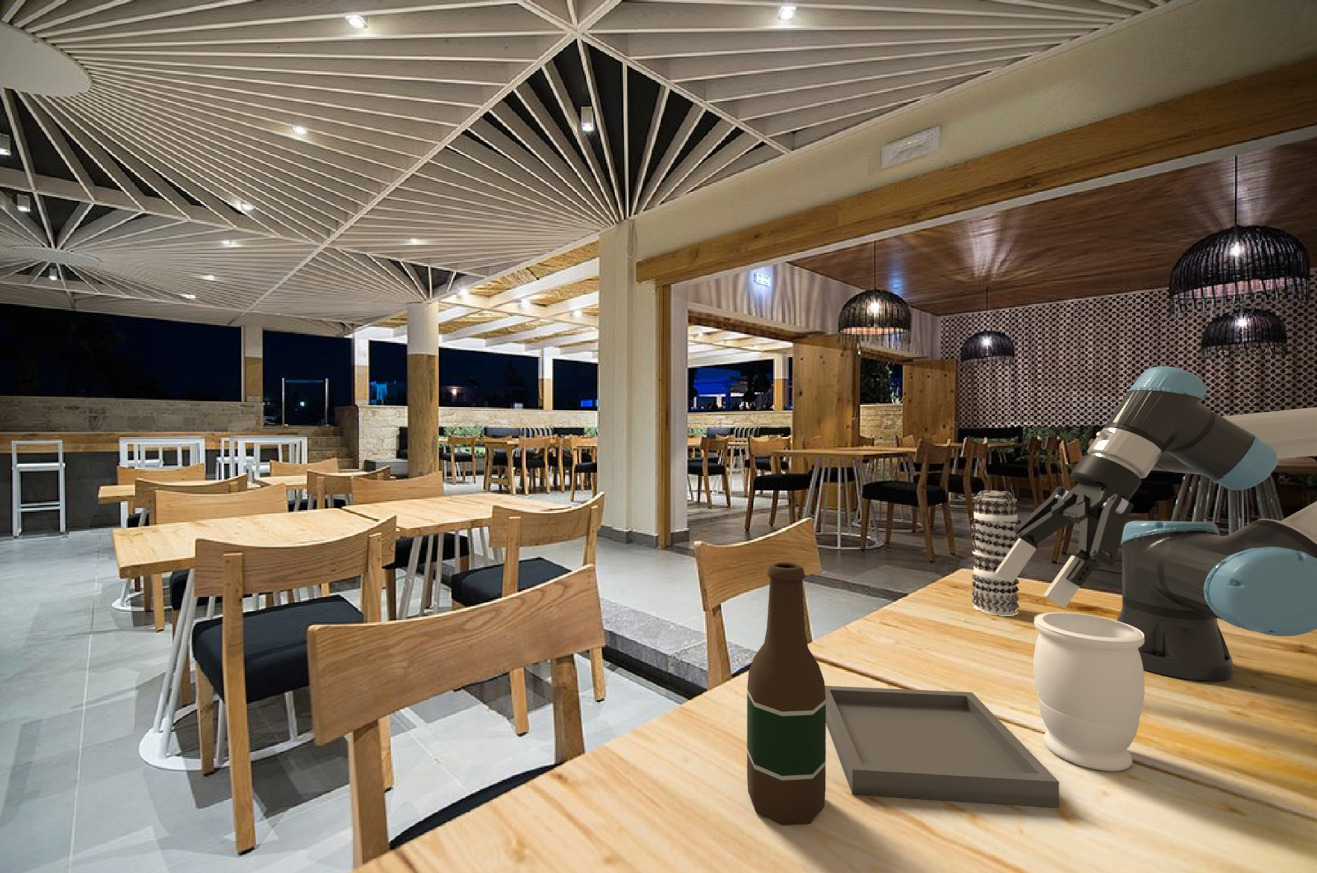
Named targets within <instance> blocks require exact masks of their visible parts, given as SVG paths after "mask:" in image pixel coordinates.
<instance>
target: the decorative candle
mask: <svg viewBox="0 0 1317 873" xmlns="http://www.w3.org/2000/svg"><path fill="white" fill-rule="evenodd" d="M973 499H974V500H975V502H974V509H975V510H974V511H973V516H972V517H970V521H971V522H973V524H971V525H970V529H971V531H972V532H971V533H970V536H971V538H973V539H974V540H973V541H972V542H971V546H972V549H971V552H972V553H971V554H973V555H974V557H975V558H974V566H973V574H972V575H971V578H972V579H973V580H974V581H972V582H971V585H972V587H973V588H974V589H972V590H971V595H972V598H971V602H972V603H973V604H972V605H975V606H973V607H974V608H975V609H976V610H981V611H982V612H985V613H990V614H996V615H1013V614H1016V613H1017V612H1018V613H1019V611H1018V610H1017V609H1018V608H1019V607H1020V606H1019V603H1018V601H1020V596H1019V595H1018V594H1017V592H1018V591H1019V590H1020V589H1019V587H1018V586H1017V585H1019V584H1020V581H1019V579H1018V578H1016V579H1015V580H1014V582H1013V583H1011V582H1009V581H1007V580H1006V579H1004V578H1003V577H1001V576H1000V575H998V574H997V573H995V571H996V570H997V568H998V567H999V566H1000V564H1001V563H1002V561H1003V560H1004V558H1005V557H1006V556H1007V554H1008V553H1009V551H1010V550H1011V549H1012V547H1013V546H1014V544H1015V543H1016V541H1017V540H1018V539H1019V538H1018V537H1017V534H1016V533H1015V532H1014V529H1015V528H1016V527H1017V526H1018V525H1019V524H1020V523H1022V521H1021V520H1020V519H1018V514H1017V501H1018V499H1016V498H1015V497H1014V496H1013V494H1012V493H1011V492H1009V491H1004V490H1003V491H1001V490H981V491H979V492H978V493H977V495H976V496H973ZM1015 610H1017V611H1015Z"/></svg>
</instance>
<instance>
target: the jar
mask: <svg viewBox="0 0 1317 873" xmlns="http://www.w3.org/2000/svg"><path fill="white" fill-rule="evenodd" d="M1033 625H1034V627H1035V629H1036V630H1037V631H1038V632H1039V633H1038V635H1037V638H1036V641H1035V647H1034V652H1033V662H1032V663H1033V667H1032V668H1033V679H1034V685H1035V686H1034V687H1035V690H1036V693H1037V703H1038V707H1039V712H1040V715H1041V718H1042V720H1043V723H1044V724H1045V727H1046V728H1047V730H1046V732H1045V733H1044V734H1043V737H1042V738H1043V739H1042V740H1043V743H1044V745H1045V747H1046V748H1047V749H1049V750H1050V752H1051V753H1053V754H1054V755H1056V756H1058V757H1060V758H1061V759H1064V760H1065V761H1067V762H1070V763H1073V764H1075V765H1077V766H1081V767H1084V768H1088V769H1091V770H1097V771H1102V772H1104V771H1106V772H1107V771H1108V772H1118V771H1124V770H1127V769H1129V768H1130V767H1131V766H1132V764H1133V757H1132V755H1131V753H1130V751H1129V750H1128V748H1129V747H1130V746H1131V745H1132V743H1133V741H1134V739H1135V738H1136V735H1137V733H1138V729H1139V725H1140V718H1141V714H1142V711H1143V707H1144V701H1145V689H1146V688H1145V685H1146V684H1145V682H1146V681H1145V674H1144V673H1145V672H1144V671H1145V670H1144V669H1143V664H1142V660H1141V656H1140V653H1139V651H1138V648H1139V647H1141V646H1142V645H1143V644H1144V634H1143V633H1142V632H1141V631H1140V630H1139V629H1137V628H1135V627H1133V626H1130V625H1128V624H1125V623H1122V622H1119V621H1117V620H1115V619H1110V618H1106V617H1102V616H1097V615H1092V614H1091V615H1090V614H1084V613H1076V612H1075V613H1074V612H1062V611H1061V612H1058V611H1057V612H1044V613H1039V614H1037V615H1034V617H1033Z"/></svg>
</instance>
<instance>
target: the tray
mask: <svg viewBox="0 0 1317 873" xmlns="http://www.w3.org/2000/svg"><path fill="white" fill-rule="evenodd" d="M825 695H826V728H827V731H828V732H829V736H830V738H831V740H832V743H833V746H834V749H835V751H836V754H837V757H838V759H839V762H840V765H841V768H842V771H843V773H844V776H845V779H846V781H847V784H848V787H849V789H850V790H849V791H850V792H851V795H853V796H871V797H886V798H898V799H899V798H900V799H901V798H903V799H917V800H932V801H949V802H963V803H964V802H966V803H981V804H994V805H995V804H996V805H997V804H998V805H1012V806H1013V805H1014V806H1026V807H1029V806H1030V807H1042V808H1043V807H1044V808H1060V781H1059V780H1058V779H1057V778H1056V777H1055V776H1054V775H1053V774H1052V773H1051V772H1050V771H1049V769H1048V768H1046V767H1045V766H1044V764H1042V763H1041V761H1040V760H1039V759H1038V758H1037V757H1036V756H1035V755H1034V754H1033V753H1032V752H1031V750H1029V749H1028V748H1027V747H1026V746H1025V745H1024V744H1023V743H1022V742H1021V741H1020V740H1019V738H1017V737H1016V736H1015V735H1014V734H1013V732H1011V730H1009V729H1008V728H1007V727H1006V725H1004V723H1003V722H1002V721H1000V719H999V718H998V717H997V716H996V715H995V714H993V712H992V711H991V710H990V709H989V708H988V707H987V706H986V705H985V704H984V703H983V702H982V701H981V700H980V699H979V698H978V697H977V696H976V695H975V694H974V693H973V692H972V691H954V690H953V691H952V690H929V689H928V690H926V689H908V688H903V689H902V688H883V687H881V688H880V687H861V686H860V687H859V686H841V685H840V686H839V685H825Z"/></svg>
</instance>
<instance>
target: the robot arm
mask: <svg viewBox="0 0 1317 873" xmlns="http://www.w3.org/2000/svg"><path fill="white" fill-rule="evenodd" d="M1207 391H1208V386H1207V385H1206V383H1205V382H1203V379H1202V378H1201V377H1199V376H1197V375H1196V374H1194V373H1192V372H1189V371H1187V370H1184V369H1181V368H1178V367H1173V366H1167V365H1166V366H1165V365H1161V366H1160V365H1159V366H1154V367H1149V368H1148V369H1146V370H1145V371H1144V372H1142V374H1141V375H1140V376H1139V377H1138V378H1137V379H1136V381H1135V382H1134V383H1133V385H1131V387H1130V388H1129V389H1127V391H1126V394H1125V396H1124V397H1123V399H1122V400H1121V401H1120V403H1119V405H1118V406H1117V408H1116V409H1115V410H1114V412H1113V413H1112V415H1111V416H1110V418H1109V419H1108V421H1107V422H1106V423H1105V425H1104V426H1103V428H1102V430H1100V431H1098V432H1097V433H1095V434H1096V438H1095V439H1094V440H1093V442H1092V443H1091V445H1090V446H1089V447H1088V449H1087V451H1086V452H1087V454H1086V455H1082V457H1081V459H1080V460H1079V461H1078V462H1077V464H1076V465H1075V467H1074V468H1073V470H1072V471H1071V473H1070V477H1071V479H1072V480H1073V481H1074V483H1075V485H1074V486H1073V487H1072V488H1071V489H1070V490H1069V491H1068V490H1067V489H1065V488H1064V487H1063V486H1058V487H1056V488H1055V490H1054V491H1053V492H1052V494H1051V495H1050V496H1049V497H1048V498H1047V499H1046V500H1045V501H1044V502H1043V503H1041V504H1040V505H1039V506H1038V507H1037V508H1036V509H1035V510H1033V512H1031V513H1030V514H1029V515H1028V516H1027V517H1026V518H1025V519H1024V520H1023V521H1021V523H1020V524H1019V525H1018V524H1017V525H1016V526H1017V527H1016V528H1015V529H1014V532H1015V533H1016V537H1018V538H1019V539H1018V540H1017V541H1016V542H1015V544H1014V546H1013V547H1012V549H1011V550H1010V551H1009V553H1008V554H1007V556H1006V557H1005V558H1004V560H1003V561H1002V563H1001V564H1000V566H999V567H998V568H997V570H996V571H995V573H997V574H998V575H1000V576H1001V577H1003V578H1004V579H1006V580H1007V581H1009V582H1011V583H1013V582H1014V580H1015V579H1018V576H1019V575H1020V573H1021V571H1022V570H1023V569H1024V568H1025V566H1026V565H1027V563H1028V562H1029V560H1030V559H1031V558H1032V557H1033V555H1034V553H1036V551H1037V550H1038V549H1039V544H1040V542H1042V541H1044V540H1045V539H1047V538H1049V537H1050V536H1052V535H1053V534H1055V533H1056V532H1057V531H1059V530H1061V529H1063V528H1064V527H1065V526H1073V525H1075V524H1076V525H1077V524H1078V525H1079V536H1078V549H1076V550H1075V551H1073V552H1072V554H1073V555H1072V554H1071V555H1070V557H1069V559H1068V560H1067V561H1066V563H1065V564H1064V565H1063V567H1062V569H1061V570H1060V571H1059V573H1057V575H1056V576H1055V578H1054V580H1053V581H1052V582H1051V584H1050V585H1049V586H1048V588H1046V591H1045V592H1044V594H1043V596H1044V597H1045V598H1047V599H1048V600H1050V601H1052V602H1053V603H1055V605H1058V606H1059V607H1061V608H1063V609H1066V607H1067V606H1068V604H1070V602H1071V601H1072V599H1073V597H1074V596H1075V595H1076V593H1077V592H1078V590H1079V589H1080V588H1081V587H1082V586H1083V584H1084V583H1085V582H1086V580H1087V579H1088V578H1089V576H1090V575H1091V574H1092V572H1093V571H1094V569H1095V568H1096V569H1098V568H1100V567H1101V566H1106V567H1107V568H1109V567H1113V566H1114V564H1115V563H1116V560H1117V555H1118V552H1119V548H1120V544H1121V546H1122V547H1121V548H1122V551H1121V552H1122V556H1121V557H1122V558H1121V559H1122V564H1121V565H1122V567H1121V568H1122V569H1121V570H1122V574H1121V575H1122V580H1121V581H1122V584H1121V585H1122V590H1121V591H1122V594H1121V595H1122V600H1121V601H1122V603H1121V605H1122V606H1121V610H1120V612H1119V615H1118V617H1117V619H1116V621H1119V622H1122V623H1125V624H1128V625H1130V626H1133V627H1135V628H1137V629H1139V630H1140V631H1141V632H1142V633H1143V634H1144V644H1143V645H1142V646H1141V647H1139V648H1138V651H1139V653H1140V656H1141V660H1142V664H1143V671H1147V672H1149V671H1150V672H1152V673H1155V674H1159V675H1164V676H1170V677H1173V678H1179V679H1186V680H1194V681H1207V682H1208V681H1210V682H1211V681H1215V682H1217V681H1224V680H1229V679H1230V678H1232V677H1233V676H1232V675H1234V673H1233V672H1234V670H1233V669H1234V668H1233V667H1234V664H1233V662H1234V661H1233V657H1232V655H1231V654H1230V651H1229V648H1228V645H1227V643H1226V640H1225V638H1224V636H1223V633H1222V631H1221V628H1220V625H1219V622H1218V619H1219V620H1222V621H1224V622H1226V623H1227V624H1230V625H1232V626H1234V627H1237V628H1240V629H1244V630H1246V631H1250V632H1254V633H1255V632H1256V633H1259V634H1263V635H1267V636H1273V637H1295V636H1296V637H1297V636H1300V635H1305V634H1308V633H1311V632H1313V631H1315V630H1317V500H1316V501H1315V502H1313V503H1311V504H1309V505H1307V506H1306V507H1304V508H1302V509H1300V510H1299V511H1296V512H1295V513H1293V514H1291V515H1289V516H1287V517H1285V518H1284V519H1282V520H1277V519H1272V518H1258V519H1257V520H1254V521H1252V522H1251V523H1249V524H1246V525H1245V526H1242V527H1241V528H1239V529H1237V530H1236V531H1234V532H1231V533H1230V534H1228V535H1224V536H1223V535H1220V533H1221V532H1220V531H1219V529H1218V525H1217V524H1215V523H1214V522H1209V521H1207V522H1206V521H1172V520H1171V521H1169V520H1168V521H1166V520H1165V521H1164V520H1161V521H1160V520H1132V521H1129V522H1127V519H1128V517H1129V515H1130V514H1131V512H1132V510H1133V509H1134V504H1133V503H1132V502H1130V500H1131V499H1132V497H1133V495H1135V493H1136V492H1137V490H1138V489H1139V488H1140V485H1141V484H1142V480H1141V479H1145V478H1147V477H1148V475H1149V474H1150V472H1151V471H1159V472H1160V471H1161V472H1171V473H1180V474H1181V473H1182V474H1190V475H1191V474H1193V475H1201V476H1205V477H1206V478H1208V479H1209V480H1210V481H1211V482H1213V483H1214V484H1218V485H1220V486H1221V487H1224V488H1225V489H1227V490H1231V491H1243V490H1247V489H1250V488H1253V487H1255V486H1257V485H1259V484H1260V483H1262V482H1264V481H1265V480H1267V479H1268V478H1269V477H1270V476H1271V474H1272V473H1273V471H1274V470H1275V469H1276V467H1277V464H1278V461H1279V459H1280V460H1281V459H1291V458H1293V459H1294V458H1305V457H1314V456H1316V457H1317V406H1316V407H1307V408H1297V409H1287V410H1286V409H1284V410H1277V411H1276V410H1275V411H1265V412H1255V413H1246V414H1245V413H1244V414H1235V415H1227V416H1224V415H1223V416H1222V415H1220V414H1218V413H1216V412H1214V411H1213V410H1212V409H1210V408H1209V407H1208V406H1207V405H1205V404H1203V403H1202V401H1203V400H1204V399H1205V395H1206V393H1207ZM1126 522H1127V523H1126ZM1103 551H1104V552H1103ZM1231 676H1232V677H1231Z"/></svg>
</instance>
